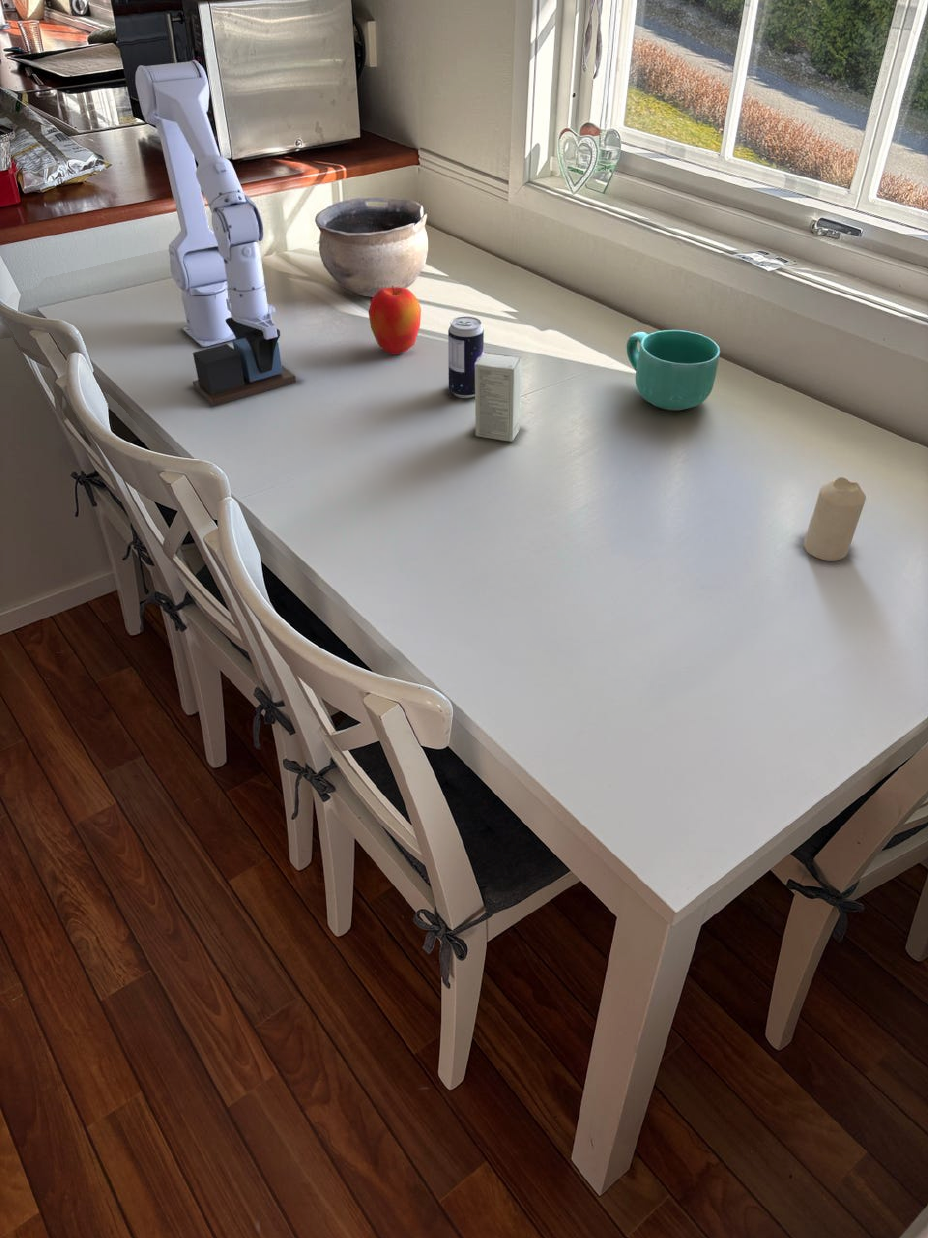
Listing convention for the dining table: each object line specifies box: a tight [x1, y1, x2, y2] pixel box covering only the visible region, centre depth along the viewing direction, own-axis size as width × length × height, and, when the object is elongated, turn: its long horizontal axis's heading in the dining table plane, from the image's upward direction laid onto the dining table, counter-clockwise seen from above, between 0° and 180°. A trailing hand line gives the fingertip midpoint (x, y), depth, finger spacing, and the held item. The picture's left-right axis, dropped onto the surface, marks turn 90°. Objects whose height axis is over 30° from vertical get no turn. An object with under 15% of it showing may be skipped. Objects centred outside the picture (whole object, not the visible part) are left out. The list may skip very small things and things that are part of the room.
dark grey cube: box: [192, 343, 245, 395], centre depth 151 cm, size 5×6×6 cm
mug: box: [625, 329, 721, 412], centre depth 150 cm, size 17×13×10 cm
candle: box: [803, 476, 867, 562], centre depth 118 cm, size 6×6×10 cm
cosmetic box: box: [474, 351, 522, 443], centre depth 140 cm, size 6×4×12 cm
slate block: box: [231, 338, 283, 382], centre depth 154 cm, size 6×5×6 cm
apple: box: [368, 286, 422, 355], centre depth 162 cm, size 9×9×12 cm
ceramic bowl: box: [314, 197, 429, 298], centre depth 183 cm, size 22×22×15 cm
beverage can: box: [447, 316, 485, 399], centre depth 150 cm, size 6×6×12 cm
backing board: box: [192, 364, 297, 407], centre depth 155 cm, size 8×15×1 cm, turn 125°
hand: (258, 364), depth 155 cm, fingers closed on slate block, 5 cm apart
